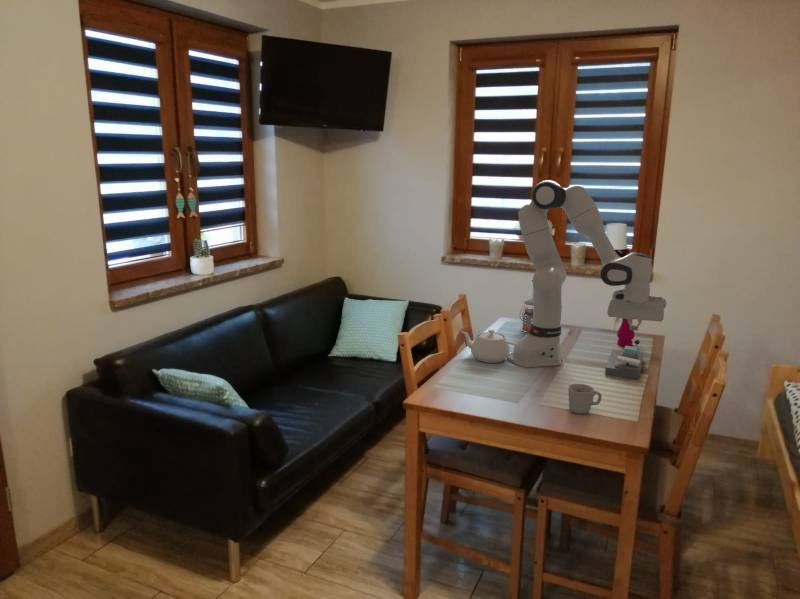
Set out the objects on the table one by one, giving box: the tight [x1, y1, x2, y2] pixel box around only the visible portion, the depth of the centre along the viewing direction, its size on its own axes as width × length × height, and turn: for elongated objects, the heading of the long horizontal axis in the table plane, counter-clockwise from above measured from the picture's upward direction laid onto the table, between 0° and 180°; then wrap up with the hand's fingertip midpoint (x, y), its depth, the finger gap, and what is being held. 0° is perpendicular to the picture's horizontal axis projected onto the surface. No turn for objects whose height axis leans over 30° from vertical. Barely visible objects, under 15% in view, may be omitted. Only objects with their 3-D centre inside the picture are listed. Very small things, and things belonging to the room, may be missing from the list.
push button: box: [623, 346, 638, 356], centre depth 233 cm, size 4×4×3 cm
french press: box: [519, 279, 534, 332], centre depth 279 cm, size 10×12×25 cm
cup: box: [568, 383, 602, 415], centre depth 193 cm, size 11×8×8 cm
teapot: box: [460, 329, 519, 364], centre depth 242 cm, size 25×16×12 cm, turn 60°
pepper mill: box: [616, 318, 635, 347], centre depth 261 cm, size 7×7×20 cm
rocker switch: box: [617, 355, 640, 366], centre depth 226 cm, size 4×8×2 cm, turn 65°
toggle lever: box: [632, 339, 641, 347], centre depth 239 cm, size 2×2×6 cm
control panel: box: [604, 349, 645, 381], centre depth 234 cm, size 24×12×6 cm, turn 155°
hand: (633, 330), depth 230 cm, fingers closed
